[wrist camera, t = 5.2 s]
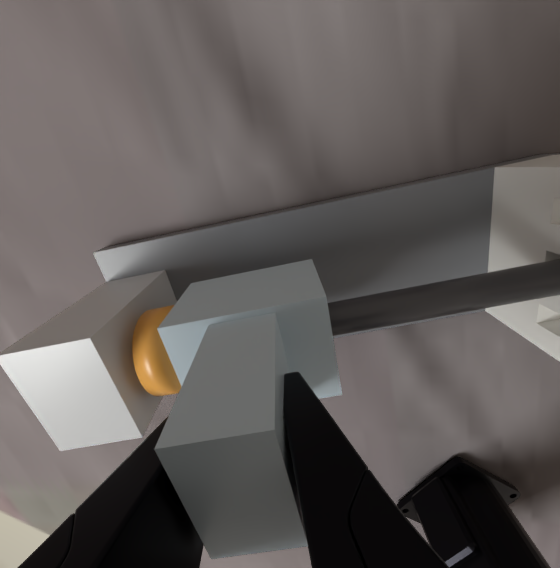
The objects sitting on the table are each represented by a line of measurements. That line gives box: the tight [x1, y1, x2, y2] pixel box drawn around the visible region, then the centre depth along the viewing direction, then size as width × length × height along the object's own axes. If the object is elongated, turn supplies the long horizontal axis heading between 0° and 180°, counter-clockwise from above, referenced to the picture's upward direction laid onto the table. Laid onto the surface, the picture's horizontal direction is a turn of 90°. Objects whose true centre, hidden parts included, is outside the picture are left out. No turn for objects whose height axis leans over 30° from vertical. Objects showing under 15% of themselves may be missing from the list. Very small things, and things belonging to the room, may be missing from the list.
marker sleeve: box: [154, 259, 342, 559], centre depth 9 cm, size 5×4×8 cm
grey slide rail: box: [0, 153, 560, 451], centre depth 12 cm, size 21×7×7 cm, turn 102°
